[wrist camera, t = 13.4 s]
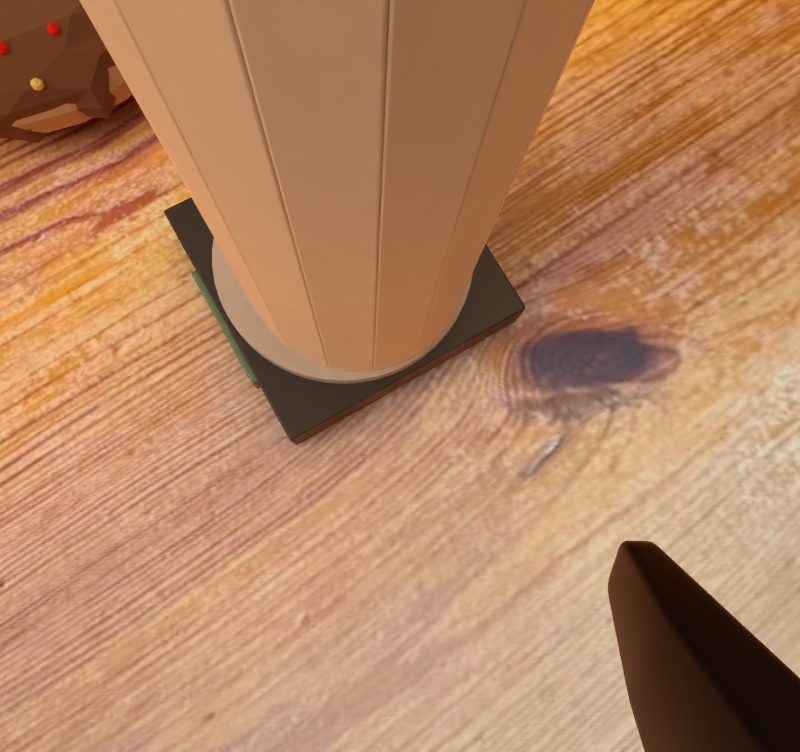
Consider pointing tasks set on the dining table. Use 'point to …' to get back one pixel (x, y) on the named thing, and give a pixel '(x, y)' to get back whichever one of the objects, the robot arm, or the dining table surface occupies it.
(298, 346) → the canister
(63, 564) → the dining table surface
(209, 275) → the scale
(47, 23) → the donut
